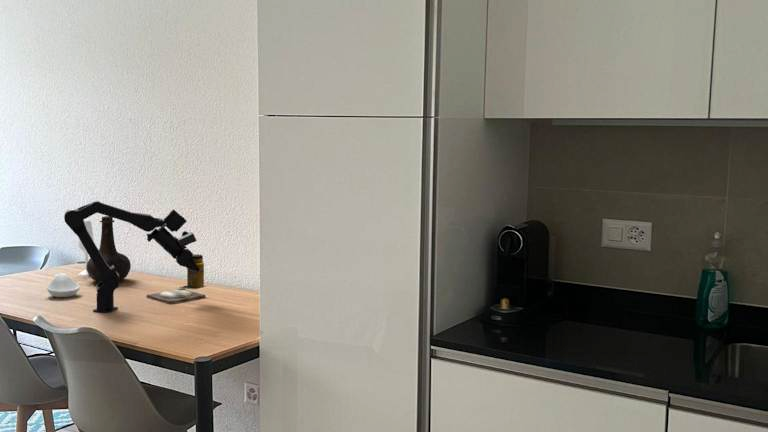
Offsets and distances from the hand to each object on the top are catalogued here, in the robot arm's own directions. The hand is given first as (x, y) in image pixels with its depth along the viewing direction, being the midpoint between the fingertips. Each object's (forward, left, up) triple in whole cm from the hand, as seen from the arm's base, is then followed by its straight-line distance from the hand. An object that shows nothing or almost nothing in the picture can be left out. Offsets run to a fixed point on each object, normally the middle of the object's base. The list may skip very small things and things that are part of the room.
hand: (197, 269), depth 283 cm
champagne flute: (+45, +70, -13) cm, 84 cm away
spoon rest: (+6, +59, -14) cm, 61 cm away
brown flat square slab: (+8, +12, -13) cm, 20 cm away
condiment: (-1, +1, -7) cm, 7 cm away
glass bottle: (+31, +52, -13) cm, 62 cm away
